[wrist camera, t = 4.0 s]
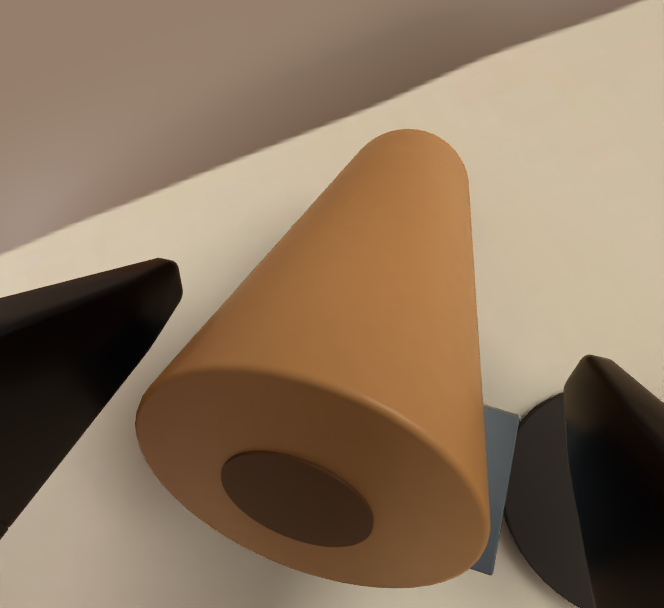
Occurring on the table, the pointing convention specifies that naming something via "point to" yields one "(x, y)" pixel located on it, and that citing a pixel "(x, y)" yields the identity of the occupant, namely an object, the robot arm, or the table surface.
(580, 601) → the coaster
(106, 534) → the table surface
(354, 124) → the table surface
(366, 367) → the paper roll
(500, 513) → the lean block
